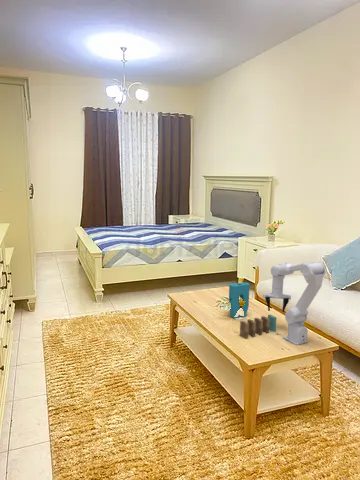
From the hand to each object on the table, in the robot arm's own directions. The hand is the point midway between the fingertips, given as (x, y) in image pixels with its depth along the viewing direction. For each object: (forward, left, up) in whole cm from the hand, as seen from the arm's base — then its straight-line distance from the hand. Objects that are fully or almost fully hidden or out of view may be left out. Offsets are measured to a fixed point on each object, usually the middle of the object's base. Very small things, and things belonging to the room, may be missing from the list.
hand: (276, 310), depth 201 cm
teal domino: (0, +3, -10) cm, 11 cm away
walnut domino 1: (0, +22, -10) cm, 24 cm away
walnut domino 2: (0, +17, -10) cm, 20 cm away
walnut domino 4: (0, +8, -10) cm, 13 cm away
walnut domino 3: (0, +13, -10) cm, 16 cm away
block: (+25, +6, -11) cm, 28 cm away
